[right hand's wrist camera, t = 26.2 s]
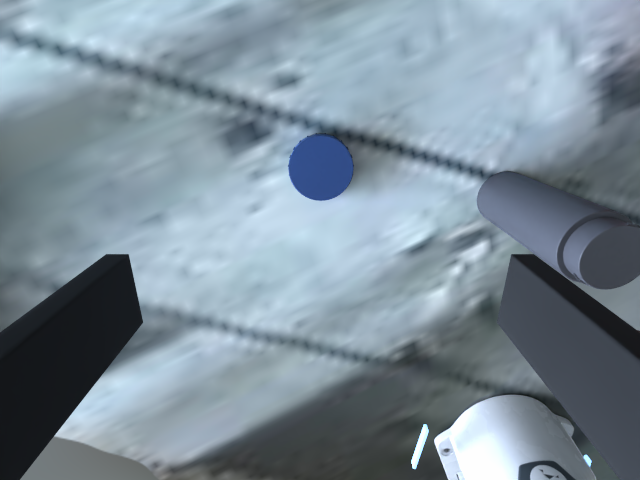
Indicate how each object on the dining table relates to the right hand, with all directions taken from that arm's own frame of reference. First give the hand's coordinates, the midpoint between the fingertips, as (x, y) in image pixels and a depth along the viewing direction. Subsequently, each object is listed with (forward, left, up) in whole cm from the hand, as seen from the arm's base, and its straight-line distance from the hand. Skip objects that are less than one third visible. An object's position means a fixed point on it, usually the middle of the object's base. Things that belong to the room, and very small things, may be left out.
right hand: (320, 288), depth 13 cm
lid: (0, 0, -25) cm, 25 cm away
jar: (+4, +20, -26) cm, 33 cm away
